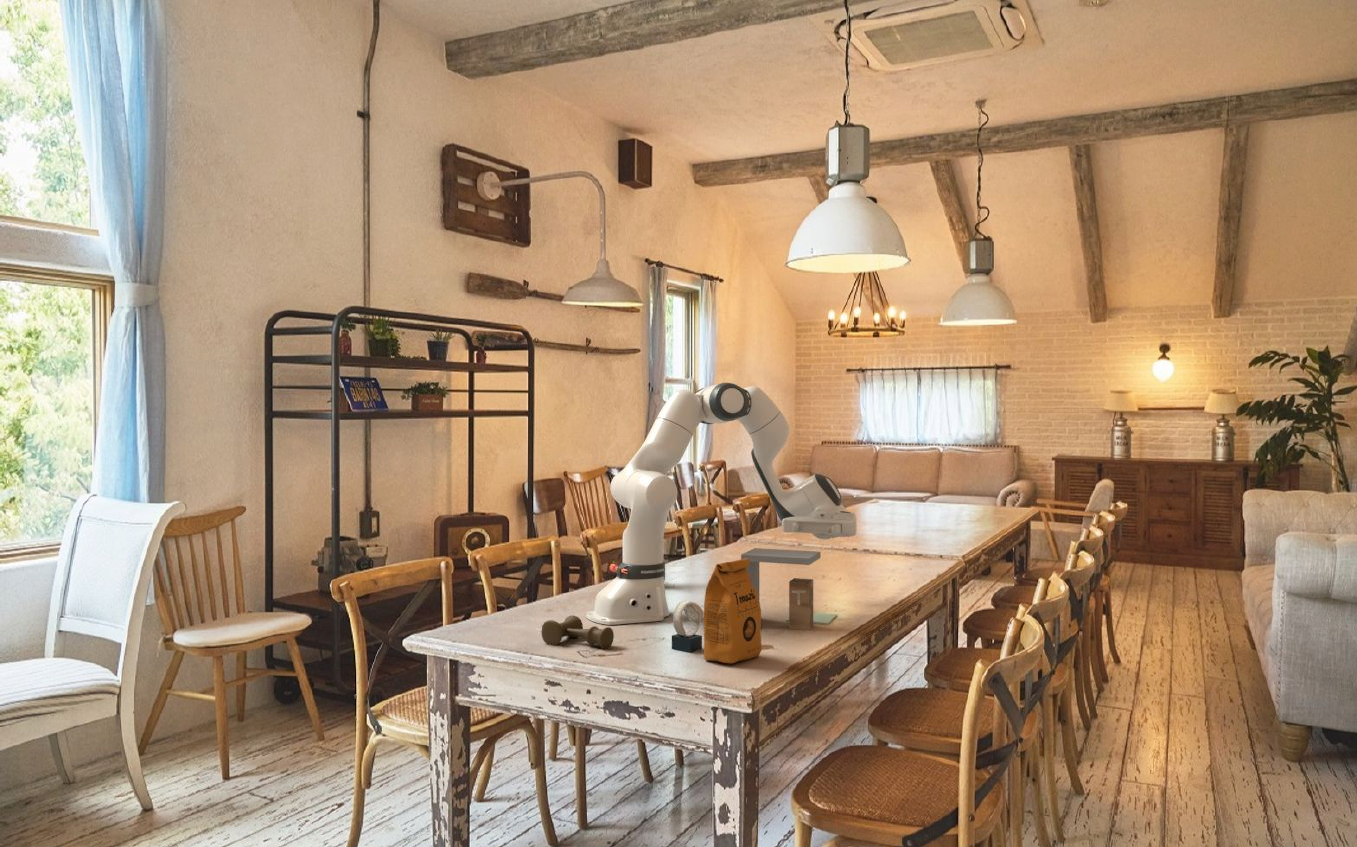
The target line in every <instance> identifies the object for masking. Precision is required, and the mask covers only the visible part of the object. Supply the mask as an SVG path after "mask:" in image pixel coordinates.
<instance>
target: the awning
mask: <svg viewBox="0 0 1357 847" xmlns="http://www.w3.org/2000/svg"><path fill="white" fill-rule="evenodd" d="M746 558H748V560H749V562H750V565H749V566H748V567H746V570H747V571H748V574H749V577H750V581H751V583H752V585H753V586H754V588H755V590H756V593H757V596H758V598H759V599H760V563H769V564H771V563H772V564H786V565H787V564H788V565H803V566H804V565H805V566H810V565H811V564H813V563H815V562H817V561H818V560H819V559H821V551H817V550H816V551H814V550H797V549H796V550H795V549H782V548H781V549H778V548H776V549H775V548H760V547H754V548H752V549H750V550H748V551H745V552H744V553H741V554H740V560H741V559H746Z"/></svg>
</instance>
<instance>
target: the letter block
mask: <svg viewBox="0 0 1357 847" xmlns="http://www.w3.org/2000/svg"><path fill="white" fill-rule="evenodd" d="M788 585H789V586H788V593H789V594H788V596H789V597H788V598H789V600H788V605H789V606H788V610H789V611H788V612H789V613H788V618H789V621H788V629H789V630H798V631H810V630H811V629H812V628H813V627H814V623H813V612H814V579H813V578H800V577H799V578H798V577H797V578H796V577H794V578H792V579H791V580H789V582H788Z"/></svg>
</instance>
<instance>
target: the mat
mask: <svg viewBox="0 0 1357 847" xmlns="http://www.w3.org/2000/svg"><path fill="white" fill-rule="evenodd" d="M837 616H838V614H837V613H825V612H814V611H813V624H817V625H829V624H830V623H831V622H833V620H834V619H835V618H836V617H837ZM785 621H786V622H789V617H787V618H786V620H785Z"/></svg>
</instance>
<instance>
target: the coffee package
mask: <svg viewBox="0 0 1357 847" xmlns="http://www.w3.org/2000/svg"><path fill="white" fill-rule="evenodd" d="M749 565H750V562H749V560H748V558H746V559H741V558H740V559H737V560H732V561H726V562H720V563H717V564H715V567H714V569H713V572H712V573H711V577H710V579H709V580H708V582H707V585H706V588H705V594H704V604H703V643H704V644H703V655H704V657H703V659H704V660H705V661H709V662H718V663H722V664H734V663H737V662H742V661H748V660H750V659H753V658H758V657H759V656H760V654H761V652H762V630H761V628H762V627H761V623H762V609H761V608H762V607H761V603H760V597H759V598H758V596H757V593H756V590H755V588H754V586H753V585H752V583H751V581H750V577H749V574H748V571H747V570H746V567H748V566H749Z"/></svg>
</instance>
